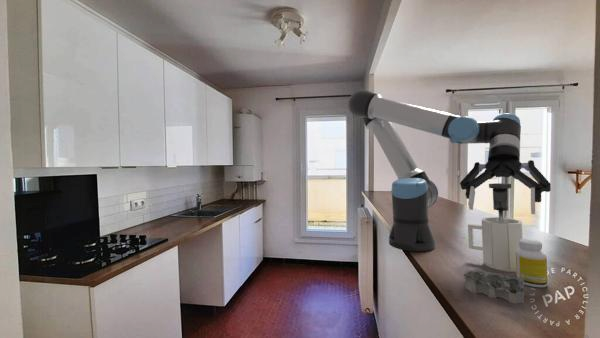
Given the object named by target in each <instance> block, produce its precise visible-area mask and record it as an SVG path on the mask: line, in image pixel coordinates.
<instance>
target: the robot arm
mask: <svg viewBox="0 0 600 338" xmlns="http://www.w3.org/2000/svg"><path fill="white" fill-rule="evenodd" d="M347 105H348V110H349V112H350V113H351V115H352V116H354V117H356V118H358V119H361V120H362V122H363V124H364V126H365V128H366V129H368V130H371V131H372V133H373V135H374V136H375V139H376V140H377V142H378V144H379V146H380V148H381V150H382V151H383V153H384V155H385V156H386V159H387V161H388V162H389V164H390V166H391V168H392V170H393V171H394V173H395V175H396V178H397V179H395V180H394V181H393V182H392V183H391V199H392V202H391V203H392V205H391V206H392V225H391V229H390V231H389V232H390V233H389V236H388V244H389V245H390V246H391V247H392V248H395V249H398V250H402V251H407V252H408V251H409V252H428V251H432V250H434V249H436V239H435V237H434V233H433V231H432V229H431V226H430V224H429V223H430V219H429V208H431V207H432V206H434V205H435V203H436V202H437V200H438V198H439V189H438V187H437V185H436V184H435V182H433V181H432V180H430V178H429V177H428V175H427V173H426V172H425V170H423V169H419V168H418V166H417V164H416V163H415V161H414V159H413V156H412V155H411V154H410V152H409V150H408V148H407V146H406V145H405V143H404V141H403V140H402V138H401V136H400V134H399V133H398V131H397V129H396V128H395V125H394V124H397V125H400V126H405V127H408V128H412V129H415V130H419V131H422V132H426V133H430V134H433V135H436V136H439V137H443V138H446V139H448V140H449V142H450V143H451V144H458V145H463V144H468V145H469V144H489V146H488V155H487V161H486V163H480V162H479V161H476V162H475V163H474V165H473V168H472V169H470V171H469V172H468V173H467V174H466V175H465V176H464V177H463V178H462V180H461V181H460V182H459V185H460V188H461V190H462V191H463V190H465V198H466V199H467V200H468V201H467V202H468V203H467V205H468V209H469V210H470V211H471V210H474V204H475V197H476V190H475V189H477V188H478V187H480V186H481V185H483V184H484V183H486V181H488V180H491V179H493V178H494V177H495V178H502V177H503V178H510V177H512V178H514V179H515V180H518V181H519V182H520V183H522V184H523V185H524V186H525V187H527V188H528V189H530V212H531V213H530V214H531V215H536V203H541V202H542V193H543V192H545V193H549V192H551V191H552V190H551V189H552V187H551V183H550V182H549V181H548V179H547V178H546V176H544V175H543V174H542V173H541V171H540V170H539V169H538V168H537V167H536V165H535V162H534V161H535V160H532V159H530V160H528V161H527V162H523V163H522V162H521V160H520V159H521V156H520V155H521V129H522V127H521V119H520V117H518V116H517V115H516V114H515V113H514V114H513V113H509V112H507V113H501V114H499V115H496V116H495V117H494V118H493V119H492V120H487V121H486V120H484V121H477V120H476V119H475V118H473V117H470V116H465V115H464V116H463V115H459V114H458V115H456V114H452V113H449V112H446V111H440V110H436V109H433V108H426V107H423V106H418V105H415V104H410V103H406V102H401V101H396V100H393V99H389V98H385V97H383V96H382V95H381V94H379V93H376V92H375V93H374V92H372V90H368V89H358V90H356V91H355V92H353V93H352V94H351V95H350V97H349V99H348V103H347ZM393 123H394V124H393ZM484 169H485V170H484ZM521 169H524V170H525V171H527V172H529V174H530V175H531V177H532V178H533V179H532V178H531V177H530V176H528V175H527V174H525V173H524V172H522V171H521ZM483 170H484V171H483ZM482 171H483V172H482ZM481 172H482V173H481Z"/></svg>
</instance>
